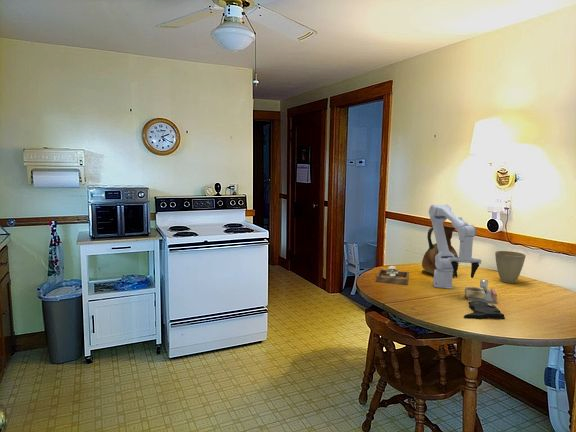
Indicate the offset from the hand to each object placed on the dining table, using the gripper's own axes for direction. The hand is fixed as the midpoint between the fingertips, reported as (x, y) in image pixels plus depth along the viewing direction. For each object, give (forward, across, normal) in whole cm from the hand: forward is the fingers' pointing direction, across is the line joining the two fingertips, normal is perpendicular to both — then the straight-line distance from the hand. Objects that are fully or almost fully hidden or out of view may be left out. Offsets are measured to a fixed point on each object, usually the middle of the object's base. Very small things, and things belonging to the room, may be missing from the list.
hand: (463, 276), depth 197 cm
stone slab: (+10, +3, -21) cm, 24 cm away
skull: (+10, -33, +21) cm, 40 cm away
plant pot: (+10, +31, +33) cm, 46 cm away
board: (+10, +8, +1) cm, 13 cm away
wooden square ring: (+8, +5, -2) cm, 10 cm away
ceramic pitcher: (+10, -4, +40) cm, 42 cm away
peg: (+8, +11, +6) cm, 15 cm away
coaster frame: (+10, -32, +21) cm, 40 cm away
